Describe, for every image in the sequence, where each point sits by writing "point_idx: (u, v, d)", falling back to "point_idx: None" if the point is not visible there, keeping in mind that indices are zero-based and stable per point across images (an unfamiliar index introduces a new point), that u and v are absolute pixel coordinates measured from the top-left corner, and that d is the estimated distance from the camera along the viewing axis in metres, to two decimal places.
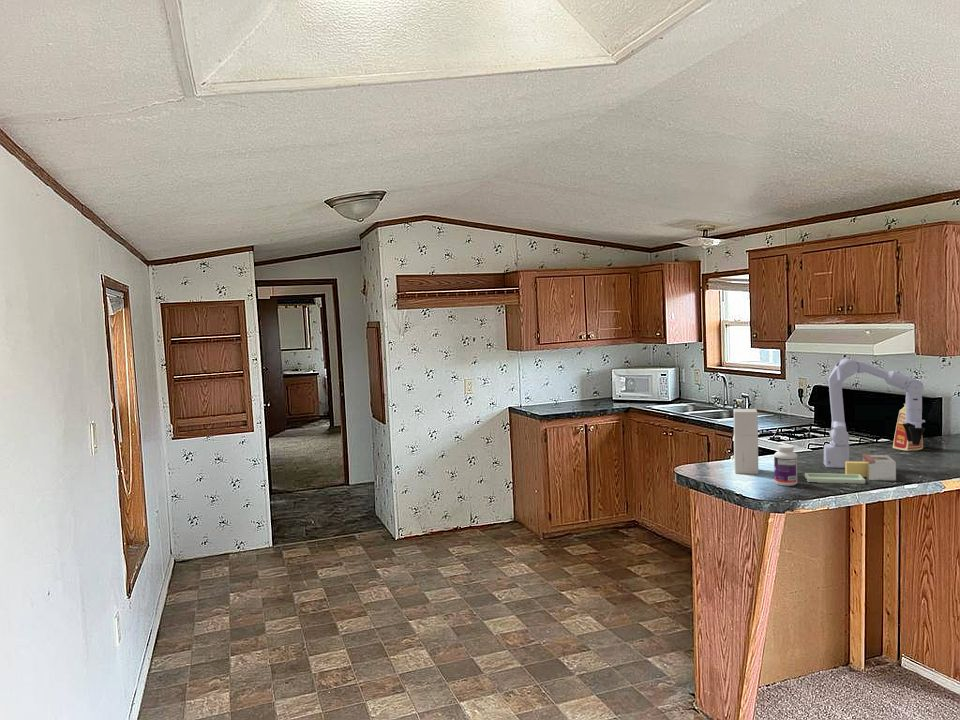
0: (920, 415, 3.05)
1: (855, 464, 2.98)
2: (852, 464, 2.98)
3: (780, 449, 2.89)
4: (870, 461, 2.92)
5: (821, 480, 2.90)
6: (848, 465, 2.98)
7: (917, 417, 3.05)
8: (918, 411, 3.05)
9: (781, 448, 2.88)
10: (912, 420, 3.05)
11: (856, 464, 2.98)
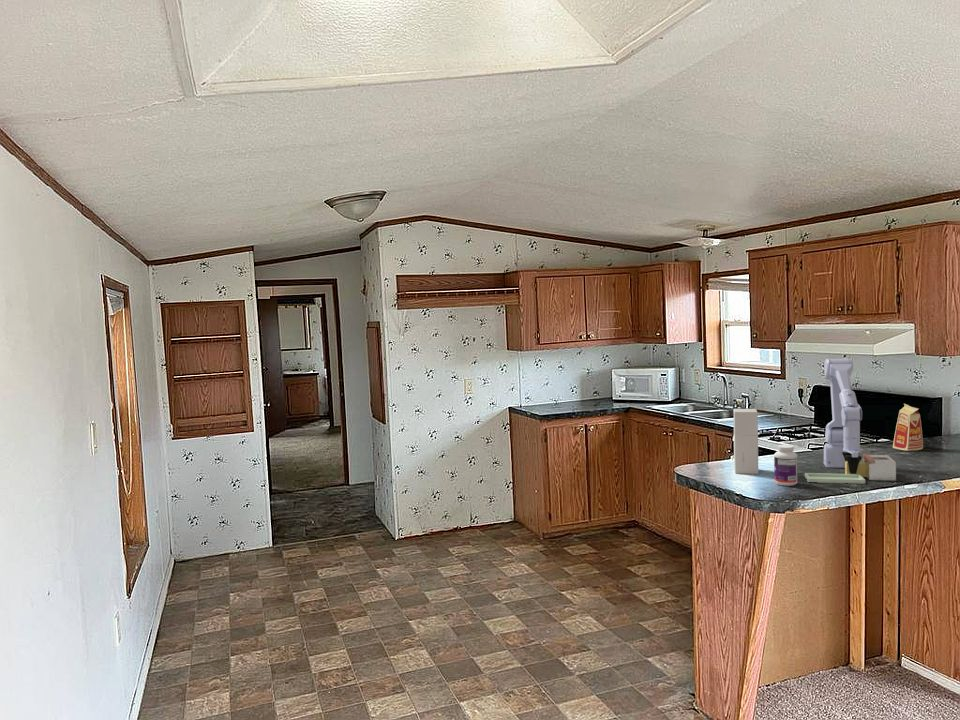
0: (858, 444, 2.96)
1: None
2: None
3: (780, 449, 2.89)
4: (870, 461, 2.92)
5: (821, 480, 2.90)
6: None
7: (854, 445, 2.96)
8: (856, 440, 2.96)
9: (781, 448, 2.88)
10: (850, 449, 2.97)
11: None
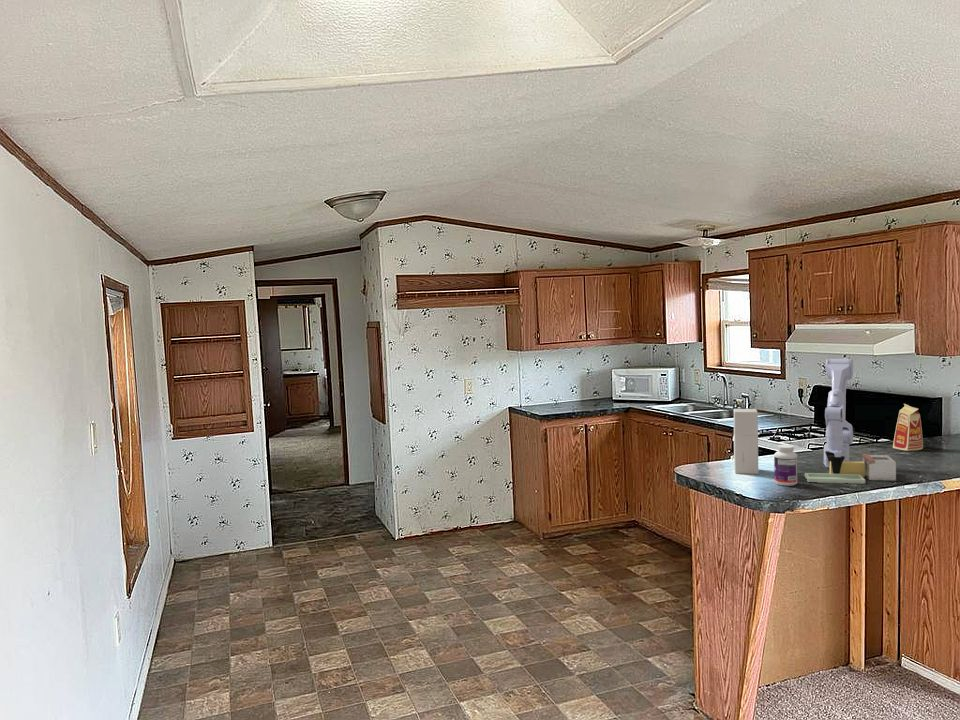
0: (841, 443, 2.98)
1: None
2: None
3: (780, 449, 2.89)
4: (870, 461, 2.92)
5: (821, 480, 2.90)
6: None
7: (837, 445, 2.98)
8: (838, 439, 2.98)
9: (781, 448, 2.88)
10: (833, 449, 2.98)
11: None
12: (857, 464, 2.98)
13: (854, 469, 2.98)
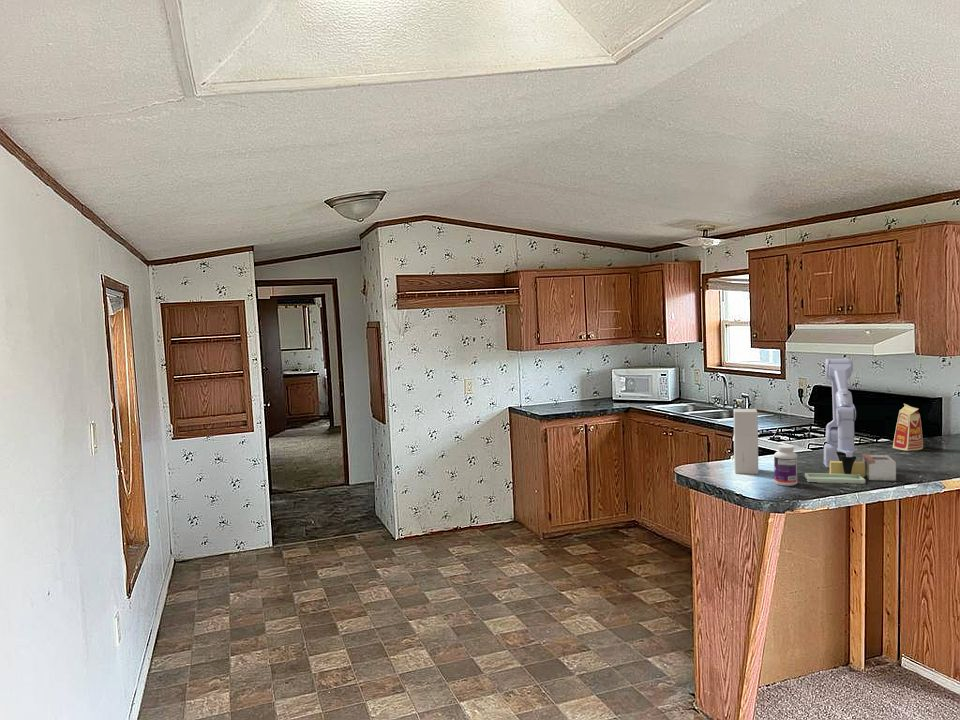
0: (852, 443, 2.97)
1: (839, 464, 2.99)
2: (836, 464, 3.00)
3: (780, 449, 2.89)
4: (870, 461, 2.92)
5: (821, 480, 2.90)
6: (832, 465, 3.00)
7: (848, 445, 2.97)
8: (850, 439, 2.96)
9: (781, 448, 2.88)
10: (844, 449, 2.97)
11: (840, 464, 2.99)
12: (857, 464, 2.98)
13: (854, 469, 2.98)
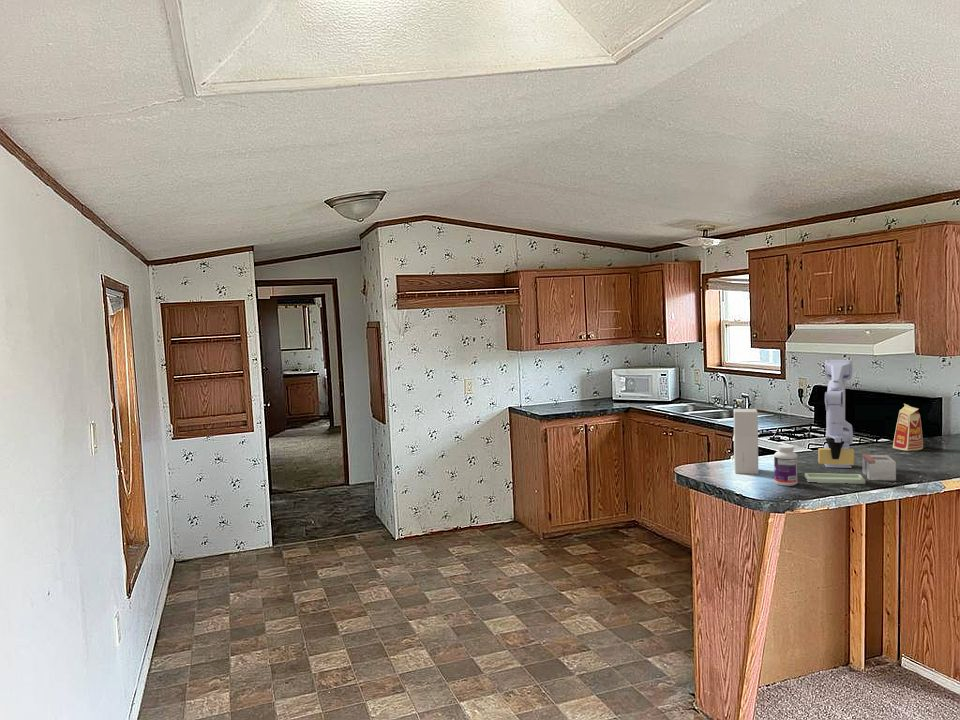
0: (841, 429, 2.90)
1: (828, 451, 2.92)
2: (825, 451, 2.93)
3: (780, 449, 2.89)
4: (870, 461, 2.92)
5: (821, 480, 2.90)
6: (821, 452, 2.93)
7: (837, 430, 2.90)
8: (839, 425, 2.90)
9: (781, 448, 2.88)
10: (832, 434, 2.90)
11: (829, 451, 2.92)
12: (846, 451, 2.91)
13: (843, 456, 2.91)
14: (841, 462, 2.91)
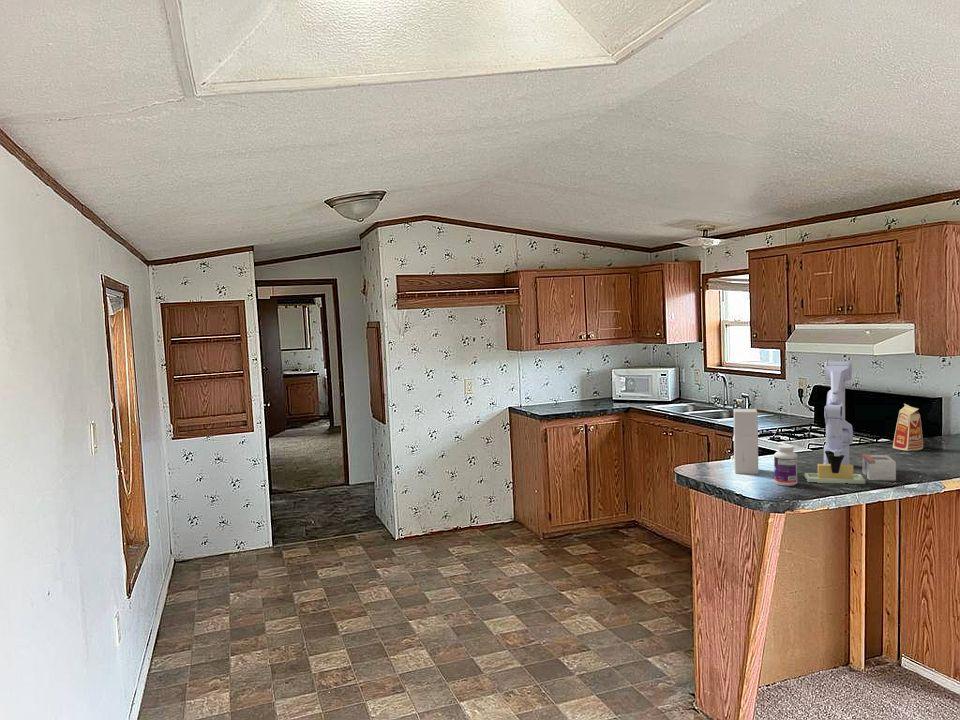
0: (840, 442, 2.90)
1: (827, 467, 2.93)
2: (824, 467, 2.93)
3: (780, 449, 2.89)
4: (870, 461, 2.92)
5: (821, 480, 2.90)
6: (820, 468, 2.93)
7: (837, 444, 2.90)
8: (838, 438, 2.90)
9: (781, 448, 2.88)
10: (832, 447, 2.90)
11: (828, 467, 2.92)
12: (845, 467, 2.91)
13: (843, 472, 2.91)
14: (841, 478, 2.92)
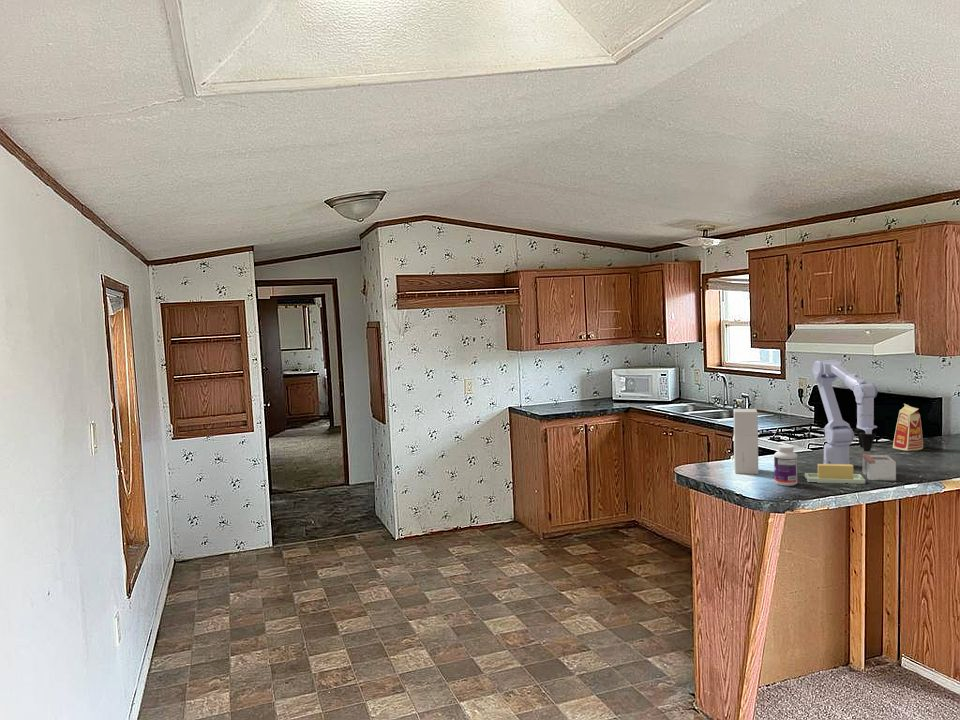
0: (871, 421, 2.97)
1: (827, 467, 2.93)
2: (824, 467, 2.93)
3: (780, 449, 2.89)
4: (870, 461, 2.92)
5: (821, 480, 2.90)
6: (820, 468, 2.93)
7: (868, 422, 2.97)
8: (869, 417, 2.97)
9: (781, 448, 2.88)
10: (863, 426, 2.98)
11: (828, 467, 2.92)
12: (845, 467, 2.91)
13: (843, 472, 2.91)
14: (841, 478, 2.92)
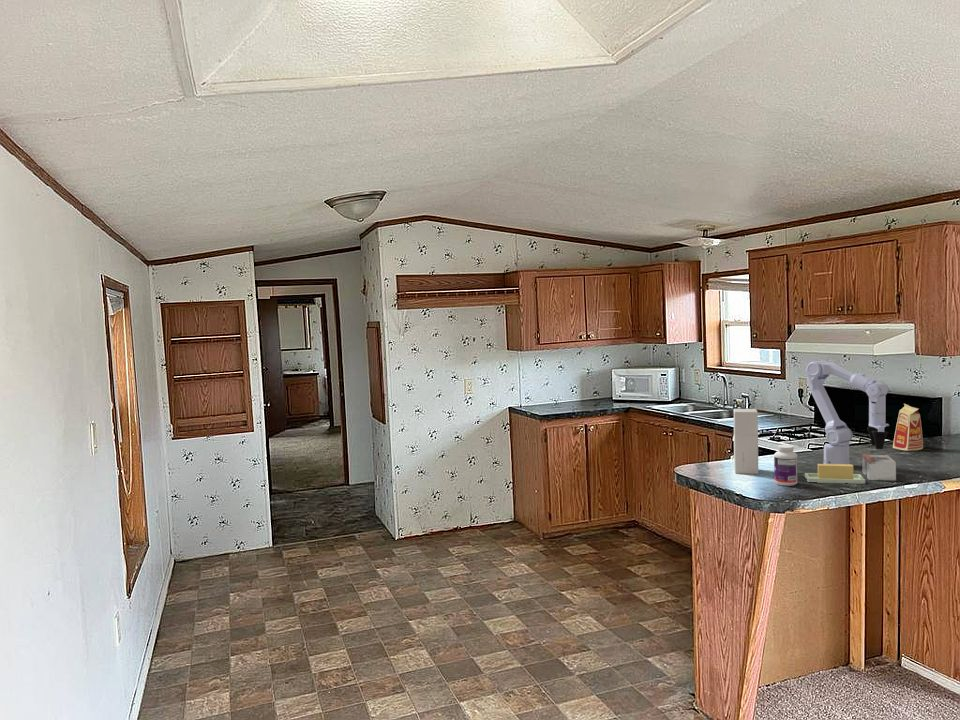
0: (883, 419, 3.00)
1: (827, 467, 2.93)
2: (824, 467, 2.93)
3: (780, 449, 2.89)
4: (870, 461, 2.92)
5: (821, 480, 2.90)
6: (820, 468, 2.93)
7: (880, 420, 3.00)
8: (881, 415, 3.00)
9: (781, 448, 2.88)
10: (875, 424, 3.00)
11: (828, 467, 2.92)
12: (845, 467, 2.91)
13: (843, 472, 2.91)
14: (841, 478, 2.92)
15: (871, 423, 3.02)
